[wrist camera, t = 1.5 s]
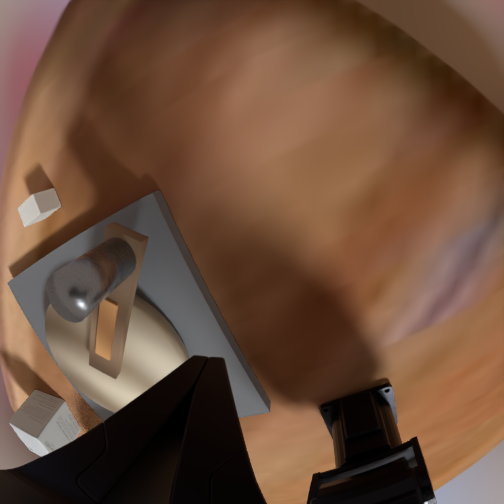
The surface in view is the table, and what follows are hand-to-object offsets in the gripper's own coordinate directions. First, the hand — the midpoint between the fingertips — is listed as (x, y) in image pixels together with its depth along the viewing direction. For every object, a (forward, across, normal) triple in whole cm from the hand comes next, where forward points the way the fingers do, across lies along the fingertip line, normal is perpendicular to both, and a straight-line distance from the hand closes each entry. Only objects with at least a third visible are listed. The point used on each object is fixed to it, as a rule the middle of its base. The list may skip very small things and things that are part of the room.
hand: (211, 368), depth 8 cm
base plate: (+12, +12, +7) cm, 18 cm away
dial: (+10, +10, +7) cm, 16 cm away
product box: (+12, +26, +24) cm, 37 cm away
